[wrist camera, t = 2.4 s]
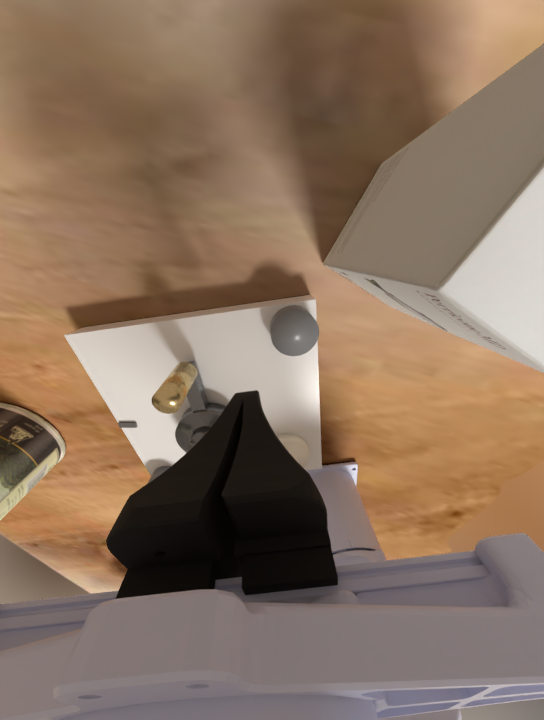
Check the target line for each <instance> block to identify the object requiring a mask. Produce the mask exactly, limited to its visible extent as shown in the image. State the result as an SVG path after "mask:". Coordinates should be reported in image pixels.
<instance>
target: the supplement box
mask: <svg viewBox="0 0 544 720" xmlns="http://www.w3.org/2000/svg"><path fill="white" fill-rule="evenodd" d="M323 264H324V266H326V267H328V268H330V269H331V270H333V271H335V272H337V273H338V274H340V275H342V276H343V277H345V278H347V279H348V280H350V281H351V282H353V283H355V284H356V285H358V286H359V287H361V288H362V289H364V290H365V291H367V292H368V293H370V294H372V295H373V296H375V297H376V298H378V299H379V300H380V301H382V302H383V303H385V304H386V305H387V306H389V307H392V308H394V309H396V310H399V311H401V312H403V313H405V314H408V315H410V316H412V317H414V318H417V319H419V320H421V321H423V322H426V323H428V324H430V325H433V326H435V327H437V328H439V329H442V330H444V331H446V332H449V333H451V334H453V335H456V336H458V337H461V338H463V339H465V340H468V341H470V342H472V343H475V344H477V345H480V346H482V347H484V348H487V349H489V350H492V351H494V352H496V353H498V354H501V355H503V356H505V357H508V358H510V359H512V360H515V361H517V362H519V363H522V364H524V365H526V366H529V367H531V368H533V369H536V370H538V371H540V372H543V373H544V44H543V45H541V46H540V47H539V48H537V49H536V50H535V51H533V52H532V53H530V54H529V55H528V56H526V57H525V58H524V59H522V60H521V61H520V62H518V63H517V64H516V65H514V66H513V67H512V68H510V69H509V70H508V71H506V72H505V73H503V74H502V75H501V76H499V77H498V78H497V79H495V80H494V81H493V82H491V83H490V84H488V85H487V86H486V87H484V88H483V89H482V90H480V91H479V92H478V93H476V94H475V95H474V96H472V97H471V98H469V99H468V100H467V101H465V102H464V103H463V104H461V105H460V106H459V107H457V108H456V109H455V110H453V111H452V112H451V113H449V114H448V115H446V116H445V117H444V118H442V119H441V120H440V121H438V122H437V123H435V124H434V125H433V126H431V127H430V128H429V129H427V130H426V131H425V132H423V133H422V134H421V135H419V136H418V137H416V138H415V139H414V140H412V141H411V142H410V143H408V144H407V145H406V146H404V147H403V148H402V149H400V150H399V151H397V152H396V153H395V154H393V155H392V156H391V157H389V158H388V159H387V160H385V161H384V162H383V163H382V164H381V165H380V167H379V169H378V170H377V172H376V174H375V176H374V177H373V179H372V181H371V182H370V184H369V186H368V187H367V189H366V191H365V193H364V194H363V196H362V198H361V199H360V201H359V203H358V204H357V206H356V208H355V209H354V211H353V213H352V215H351V216H350V218H349V220H348V221H347V223H346V225H345V226H344V228H343V230H342V232H341V233H340V235H339V237H338V238H337V240H336V242H335V243H334V245H333V247H332V249H331V250H330V252H329V254H328V255H327V257H326V259H325V260H324V262H323Z"/></svg>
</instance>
